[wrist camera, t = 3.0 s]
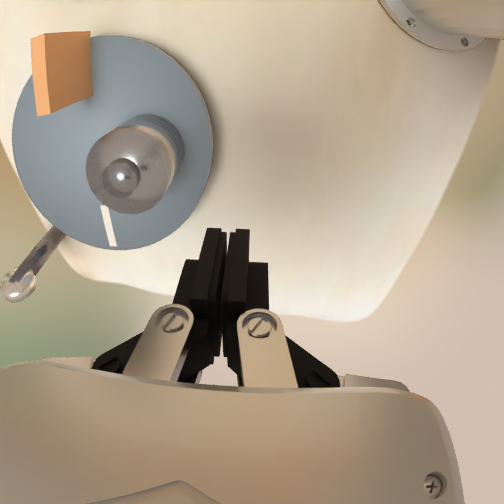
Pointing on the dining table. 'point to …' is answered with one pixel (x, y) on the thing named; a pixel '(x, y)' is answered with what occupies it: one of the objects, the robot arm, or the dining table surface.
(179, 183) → the turntable
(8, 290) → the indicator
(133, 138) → the cover
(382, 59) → the dining table surface
